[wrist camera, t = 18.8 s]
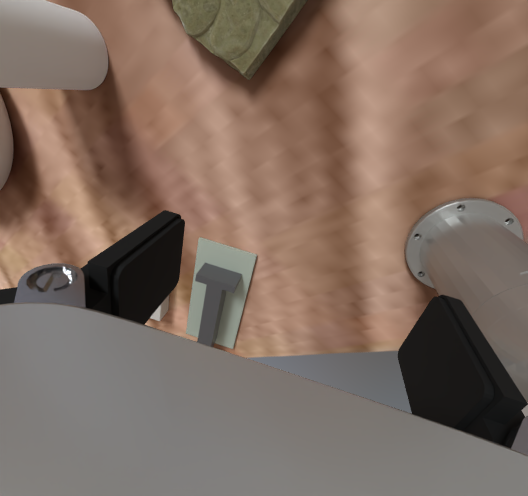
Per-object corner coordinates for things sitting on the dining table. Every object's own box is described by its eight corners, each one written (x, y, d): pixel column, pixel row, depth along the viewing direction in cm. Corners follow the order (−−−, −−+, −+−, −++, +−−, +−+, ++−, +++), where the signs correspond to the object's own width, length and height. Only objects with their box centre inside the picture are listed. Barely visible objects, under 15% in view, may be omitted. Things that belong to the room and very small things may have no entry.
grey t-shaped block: (225, 342, 52) (219, 357, 49) (194, 332, 53) (186, 346, 50) (241, 274, 45) (235, 286, 42) (205, 262, 45) (196, 274, 42)
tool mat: (257, 254, 44) (256, 256, 43) (233, 346, 53) (232, 349, 53) (200, 237, 44) (198, 238, 44) (187, 331, 54) (185, 333, 53)
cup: (121, 69, 36) (-14, 50, 22) (77, 102, 39) (-66, 104, 25) (78, -7, 33) (-108, -84, 19) (34, 35, 36) (-154, -5, 22)
